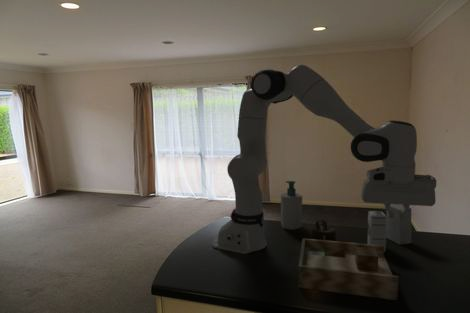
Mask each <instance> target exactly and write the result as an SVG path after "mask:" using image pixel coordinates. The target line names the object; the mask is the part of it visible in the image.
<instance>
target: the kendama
mask: <svg viewBox="0 0 470 313" xmlns="http://www.w3.org/2000/svg"><path fill="white" fill-rule="evenodd" d="M311 239H316V240H327V241H337V235H336V229H335V227H333V228H331V229H329V230H328V224H327V222H326V221H325V220H324V219H318V220H317V221H316V222H315V228H314V227H312V228H311Z"/></svg>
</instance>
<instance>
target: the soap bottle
mask: <svg viewBox="0 0 470 313" xmlns="http://www.w3.org/2000/svg"><path fill="white" fill-rule="evenodd" d="M285 183H287V184H288V188H287V189H286V191H287V192H285V193H280V224H281V227H282V228H283V229H284V230H285V229H286V230H292V231H294V230H297V229H301V228H302V227H303V196H302V195H301V194H300V193H298V192H296V189H297V188H295V184H296V181H294V180H288V181H287V180H286V181H285Z"/></svg>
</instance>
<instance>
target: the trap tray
mask: <svg viewBox="0 0 470 313" xmlns="http://www.w3.org/2000/svg"><path fill="white" fill-rule="evenodd" d="M356 247H363V248H374V249H376V252H377V254H378V272H375V271H366V270H357V266H356V261H355V258H356ZM300 248H301V249H300V254H299V259H298V260H299V261H298V276H297V277H298V279H297V280H298V282H297V283H298V284H297V285H298V288H301V289H308V290H309V289H310V290H317V291H322V292H323V291H324V292H332V293H339V294H347V295H353V296H360V297H361V296H362V297H370V298H377V299H384V300H392V301H398V297H399V296H398V293H399V280H400V279H399V276H398V275H394V274H393V273H392V271H391V268H390V266H389V264H388V262H387V259H386V257H385V254H384V253H385V251H384V246H383V245H372V244H367V243H359V242H348V241H346V242H345V241H337V240H336V241H330V240H328V239H326V240H324V239H319V240H316V239H312V238H302V240H301V246H300Z"/></svg>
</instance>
